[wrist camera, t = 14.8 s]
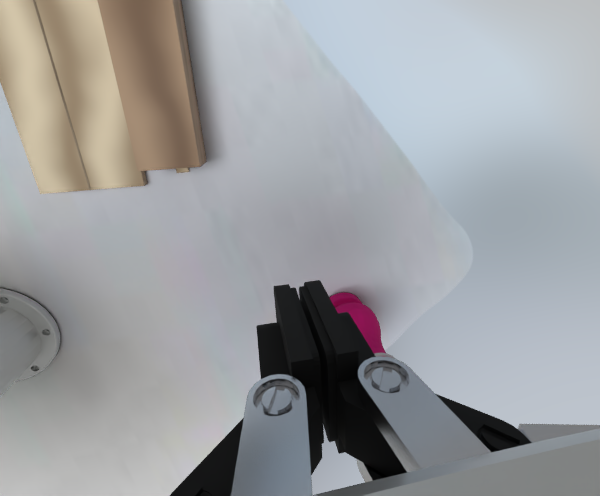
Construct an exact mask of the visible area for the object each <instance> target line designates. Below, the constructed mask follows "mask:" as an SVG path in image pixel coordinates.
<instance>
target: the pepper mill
mask: <svg viewBox="0 0 600 496" xmlns="http://www.w3.org/2000/svg"><path fill="white" fill-rule="evenodd" d="M330 300H331V302H332V303H333V305H334V307H335V309H336V311H337V312H338V313H343V312H348V313H349V314H350V315H351V317H352V319H353V320H354V322H355V324H356V325H357V327H358V328H359V330H360V332H361V333H362V335H363V337H364V338H365V340H366V341H367V343H368V345H369V346H370V348H371V350H372V351H373V353H374V355H375V356H376V357H378V356H383V357H390V358H394V357H393V356H391V355H389V354H387V353H386V352H385V350H384V348H383V346H382V343H381V330H380V326H379V322H378V320H377V318H376V316H375V314H374V313H373V311H372V310H371V309H370V308H368V307H367V306H365V305H363V304H362V303H361V301H360V300H359V299H358V297H356V296H355V295H353V294H351V293H338V294H335V295H333V296H331V297H330ZM394 359H395V358H394Z"/></svg>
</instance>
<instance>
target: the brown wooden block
mask: <svg viewBox="0 0 600 496" xmlns="http://www.w3.org/2000/svg"><path fill="white" fill-rule="evenodd" d="M97 1H98V5H99V9H100V13H101V18H102V22H103V26H104V30H105V35H106V39H107V43H108V47H109V52H110V56H111V60H112V64H113V68H114V73H115V77H116V81H117V85H118V90H119V94H120V98H121V102H122V107H123V111H124V115H125V119H126V124H127V128H128V132H129V136H130V141H131V145H132V149H133V153H134V158H135V162H136V166H137V170H138V171H147V170H161V169H175V168H189V167H200V166H202V165H203V164H204V163H206V155H205V149H204V142H203V136H202V130H201V123H200V117H199V111H198V104H197V98H196V91H195V85H194V79H193V72H192V66H191V60H190V53H189V47H188V40H187V34H186V28H185V21H184V15H183V9H182V2H181V0H97Z"/></svg>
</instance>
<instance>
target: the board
mask: <svg viewBox="0 0 600 496" xmlns="http://www.w3.org/2000/svg"><path fill="white" fill-rule="evenodd" d="M0 82H1V85H2V88H3V91H4V93H5V96H6V99H7V102H8V105H9V107H10V110H11V113H12V116H13V119H14V121H15V124H16V127H17V130H18V133H19V135H20V138H21V141H22V144H23V147H24V149H25V152H26V155H27V158H28V161H29V163H30V166H31V169H32V172H33V175H34V178H35V180H36V183H37V186H38V189H39V192H40V194H45V193H57V192H70V191H83V190H95V189H108V188H120V187H133V186H145V185H147V179H146V175H145V171H138V170H137V166H136V162H135V158H134V153H133V149H132V145H131V141H130V136H129V132H128V128H127V124H126V119H125V115H124V111H123V107H122V102H121V98H120V94H119V90H118V85H117V81H116V77H115V73H114V68H113V64H112V60H111V56H110V52H109V47H108V43H107V39H106V35H105V30H104V26H103V22H102V18H101V13H100V9H99V5H98V1H97V0H0ZM176 171H177V173H183V172H189V168H176Z"/></svg>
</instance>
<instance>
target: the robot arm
mask: <svg viewBox="0 0 600 496" xmlns="http://www.w3.org/2000/svg"><path fill="white" fill-rule="evenodd" d="M299 295H300V300H299V297H298V294H297V291H296V288H290V286H289V284H288V285H281V286H274V297H275V308H276V318H277V323H270V324H264V325H257V336H258V348H259V360H260V372H261V380H259V381H258V382H257V383H255V384H254V386H253V387H252V388H251V389H250V391H249V394H248V396H247V401H246V407H245V413H244V418H243V419H242V420H241V421H240V422H239V423H238V424H237V425H236V426H235V427H234V429H233V430H232V431H231V432H230V433H229V434H228V435H227V436H226V437H225V438H224V439H223V440H222V441H221V442H220V443H219V444H218V445H217V446H216V447H215V448H214V449H213V451H212V452H211V453H210V454H209V455H208V456H207V457H206V458H205V459H204V460H203V461H202V462H201V463H200V464H199V465H198V466H197V467H196V468H195V469H194V470H193V471H192V473H191V474H190V475H189V476H188V477H187V478H186V479H185V480H184V481H183V482H182V483H181V484H180V485H179V486H178V487H177V488H176V489H175V490H174V491H173V492H172V494H171V495H170V496H600V425H557V424H555V425H554V424H552V425H551V424H519V428H518V429H516V428H515V427H514V426H512V425H510V424H508V423H506V422H504V421H502V420H500V419H497V418H495V417H492V416H490V415H488V414H485V413H482V412H480V411H477V410H475V409H472V408H470V407H467V406H465V405H462V404H460V403H457V402H454V401H452V400H449V399H447V398H445V397H442V396H439V395H437V394H435V393H434V392H433V391H432V390H431V389H430V388H429V387H428V386H427V385H426V384H425V383H424V382H423V381H422V380H421V379H420V378H419V377H418V376H417V375H416V374H415V373H414V372H413V371H412V369H411V368H410V367H408V366H407V365H406V364H404V363H403V362H400V361H399V360H397V359H394V358H390V357H383V356H378V357H376V356H375V355H374V353H373V351H372V350H371V348H370V346H369V345H368V343H367V341H366V340H365V338H364V337H363V335H362V333H361V332H360V330H359V328H358V327H357V325H356V324H355V322H354V320H353V319H352V317H351V315H350V314H349V313H348V312H343V313H338V312H337V311H336V309H335V307H334V305H333V303H332V302H331V300H330V298H329V296H328V294H327V292H326V291H325V289H324V287H323V285H322V283H321V282H320V280H318V281H310V282H305V283H304V286H303V287H299ZM59 346H60V332H59V329H58V326H57V324H56V322H55V321H54V319H53V317H52V316H51V315H50V314H49V313H48V312H47V310H46V309H45V308H43V307H42V306H41V305H40V304H38V303H37V302H36V301H34V300H32V299H30V298H28V297H27V296H24V295H22V294H19V293H17V292H14V291H10V290H6V289H2V288H0V397H1V396H2V395H3V394H4V393H5V392H6V391H7V390H8V389H9V388H10V386H11V385H12V384H13V383H14V382H16V381H20V380H25V379H27V378H30V377H32V376H35V375H36V374H38V373H40V372H41V371H43V370H44V369H45V368H46V367H47V366H48V365H49V364H50V363H51V362H52V360H53V359H54V358H55V356H56V354H57V352H58V350H59ZM323 424H324V428H325V431H326V435H327V438H328V440H329V442H331V441H335V443H336V446H337V449H338V452H339V453H343V452H346V453H348V454H349V455H351V456H353V457H354V458H356V459H357V465H358V468H359V471H360V473H361V475H362V477H363V478H364V481H365V483H361V484H357V485H353V486H349V487H345V488H341V489H337V490H332V491H329V492H324V493H320V494H316V495H312V480H311V475H312V473H313V472H314V470H315V468H316V467H317V465H318V463H319V462H320V460H321V458H322V443H324V435H323Z"/></svg>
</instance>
